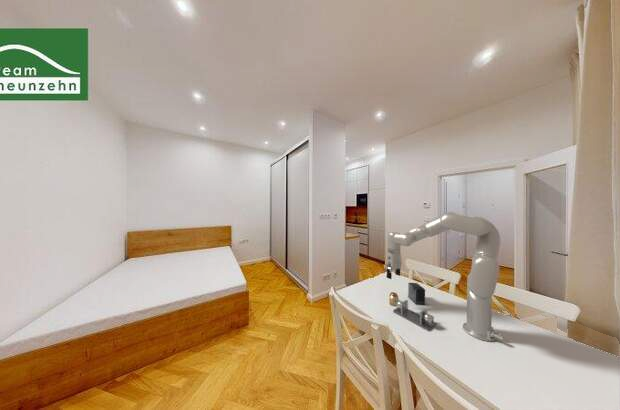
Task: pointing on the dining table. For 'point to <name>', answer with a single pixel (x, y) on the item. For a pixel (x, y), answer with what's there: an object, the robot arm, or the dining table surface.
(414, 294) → the small box
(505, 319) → the dining table surface
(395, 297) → the valve
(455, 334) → the dining table surface
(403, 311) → the grey bar with knobs
